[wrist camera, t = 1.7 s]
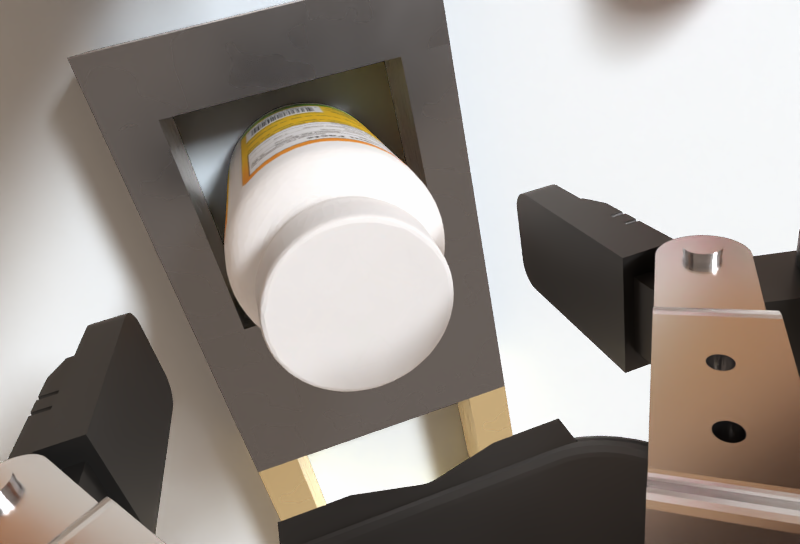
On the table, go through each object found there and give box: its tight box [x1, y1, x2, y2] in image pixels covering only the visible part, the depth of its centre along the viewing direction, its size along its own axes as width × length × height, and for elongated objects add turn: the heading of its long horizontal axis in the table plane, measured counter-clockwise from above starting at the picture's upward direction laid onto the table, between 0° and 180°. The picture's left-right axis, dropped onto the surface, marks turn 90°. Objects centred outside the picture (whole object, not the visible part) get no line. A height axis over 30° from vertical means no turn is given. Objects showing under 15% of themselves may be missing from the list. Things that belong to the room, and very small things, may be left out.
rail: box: [67, 0, 512, 521], centre depth 22 cm, size 10×24×2 cm, turn 12°
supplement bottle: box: [224, 103, 454, 392], centre depth 16 cm, size 5×5×10 cm
